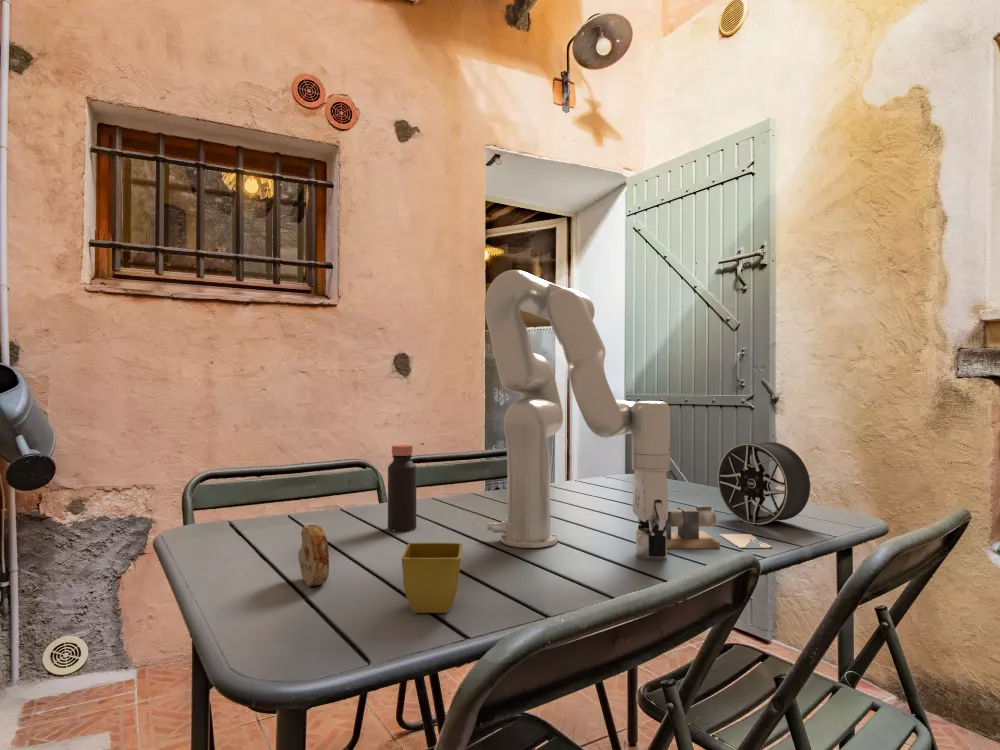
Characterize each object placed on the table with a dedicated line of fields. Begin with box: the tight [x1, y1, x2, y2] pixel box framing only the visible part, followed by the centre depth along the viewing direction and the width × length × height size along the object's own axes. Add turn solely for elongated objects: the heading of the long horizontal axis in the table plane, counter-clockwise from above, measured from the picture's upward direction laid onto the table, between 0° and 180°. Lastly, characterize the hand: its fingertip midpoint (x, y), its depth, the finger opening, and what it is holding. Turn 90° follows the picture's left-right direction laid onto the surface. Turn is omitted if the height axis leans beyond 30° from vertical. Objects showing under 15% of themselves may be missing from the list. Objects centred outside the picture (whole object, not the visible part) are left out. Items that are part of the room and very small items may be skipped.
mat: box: [719, 533, 773, 549], centre depth 129 cm, size 7×11×1 cm, turn 0°
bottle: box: [387, 444, 417, 532], centre depth 142 cm, size 7×7×20 cm
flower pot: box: [401, 542, 463, 614], centre depth 91 cm, size 9×9×9 cm
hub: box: [635, 528, 668, 562], centre depth 118 cm, size 6×6×5 cm
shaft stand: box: [653, 505, 721, 549], centre depth 129 cm, size 14×10×8 cm
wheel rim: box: [716, 441, 811, 526], centre depth 148 cm, size 20×9×20 cm, turn 30°
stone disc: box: [297, 524, 330, 587], centre depth 103 cm, size 10×4×10 cm, turn 30°
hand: (651, 549), depth 118 cm, fingers open, 7 cm apart
